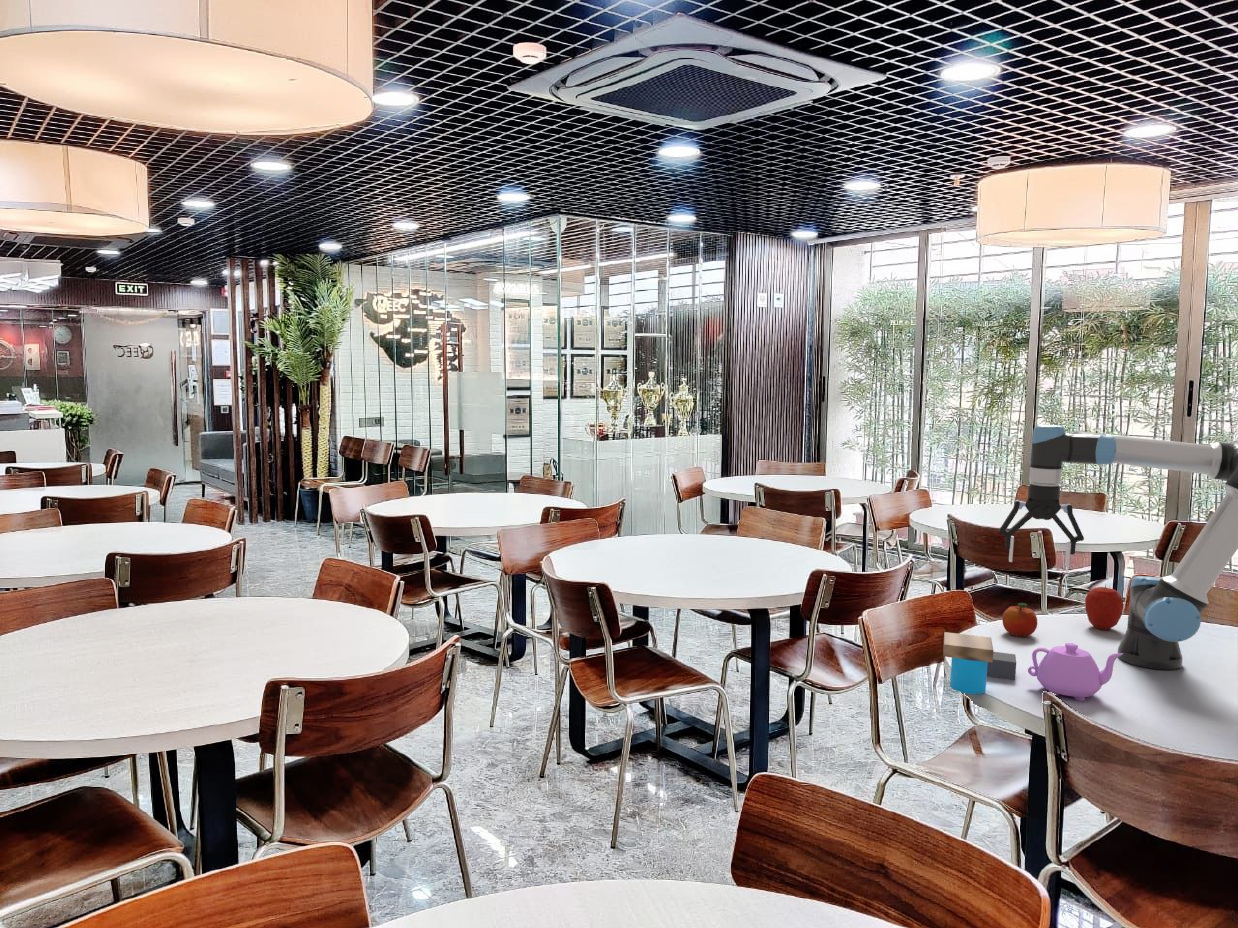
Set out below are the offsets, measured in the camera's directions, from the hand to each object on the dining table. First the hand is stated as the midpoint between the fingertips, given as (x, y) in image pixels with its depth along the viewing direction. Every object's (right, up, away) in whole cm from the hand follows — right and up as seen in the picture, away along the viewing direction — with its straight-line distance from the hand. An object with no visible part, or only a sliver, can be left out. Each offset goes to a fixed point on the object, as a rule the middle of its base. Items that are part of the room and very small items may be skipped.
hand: (1038, 563), depth 238 cm
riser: (-13, -27, -7) cm, 31 cm away
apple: (+36, -24, +37) cm, 57 cm away
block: (-25, -20, -17) cm, 36 cm away
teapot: (-1, -29, -20) cm, 36 cm away
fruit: (+7, -24, +28) cm, 38 cm away
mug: (-26, -28, -16) cm, 41 cm away
